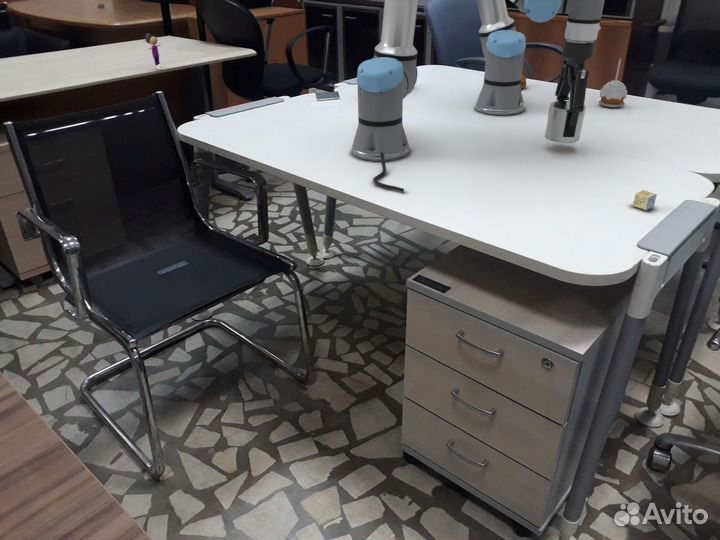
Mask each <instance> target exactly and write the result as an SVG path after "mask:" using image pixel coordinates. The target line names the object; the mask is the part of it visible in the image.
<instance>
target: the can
mask: <svg viewBox="0 0 720 540" xmlns="http://www.w3.org/2000/svg"><path fill="white" fill-rule="evenodd" d="M569 105H570V100H565V101H558V100H555V101H552V102H551V103H550V104H549V110H548V115H547V121H546V127H545V131H544V132H545V134H544V138H545V139H546V140H547V141H551V142H554V143H559V144H575V143H577V142H579V141H580V138H581V134H582V129H583V123H584V119H585V114H586V109H587V106H586V104H584V110H583V112H579V115H578V120H577V125H576V130H575V135H574V137H563V132H564V127H565V122H566V116H567V112H566V110H569Z"/></svg>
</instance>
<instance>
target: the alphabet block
mask: <svg viewBox="0 0 720 540" xmlns="http://www.w3.org/2000/svg"><path fill="white" fill-rule="evenodd" d="M657 195H658V194H657V193H655V192H651V191H648V190H645V189H642V190H640V191H637V192H636V193H635V194H634V198H633V203H632V206H633V207H635V208H638V209H640V210H641V209H642V210H644V211H648V210H650V209H652V208H654V207H655V203H656V199H657Z"/></svg>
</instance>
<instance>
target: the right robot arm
mask: <svg viewBox="0 0 720 540" xmlns="http://www.w3.org/2000/svg"><path fill="white" fill-rule="evenodd" d="M476 5H477V9H478V13H479V17H480V22H481V26H480V28H479V29H478V35H479V39H480V43H481V47H482V51H481V52H482V55H483V57H484V60H485V63H484V76H483V84H482V88H481V90H480V93H479V94H478V97H477V100H476V103H475V109H476V110H477V111H478V112H481V113H483V114H487V115H493V116H512V115H516V114H517V115H518V114H521V113H522V112H523V111H524V107H525V105H524V104H525V100H524V97H523V92H522V88H521V87H520V84H521V76H522V75H523V65H524V56H525V50H526V48H527V43H526V40H527V39H526V36H525V34H523V33H522V32H520V31H517V28H516V23H515V20H514V18H512V17H510V16H509V14H508V9H507V3H506V0H476Z"/></svg>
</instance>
